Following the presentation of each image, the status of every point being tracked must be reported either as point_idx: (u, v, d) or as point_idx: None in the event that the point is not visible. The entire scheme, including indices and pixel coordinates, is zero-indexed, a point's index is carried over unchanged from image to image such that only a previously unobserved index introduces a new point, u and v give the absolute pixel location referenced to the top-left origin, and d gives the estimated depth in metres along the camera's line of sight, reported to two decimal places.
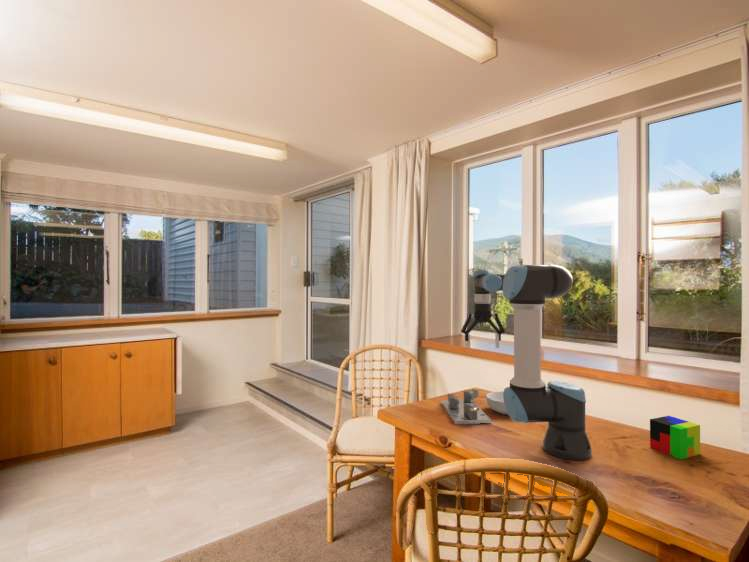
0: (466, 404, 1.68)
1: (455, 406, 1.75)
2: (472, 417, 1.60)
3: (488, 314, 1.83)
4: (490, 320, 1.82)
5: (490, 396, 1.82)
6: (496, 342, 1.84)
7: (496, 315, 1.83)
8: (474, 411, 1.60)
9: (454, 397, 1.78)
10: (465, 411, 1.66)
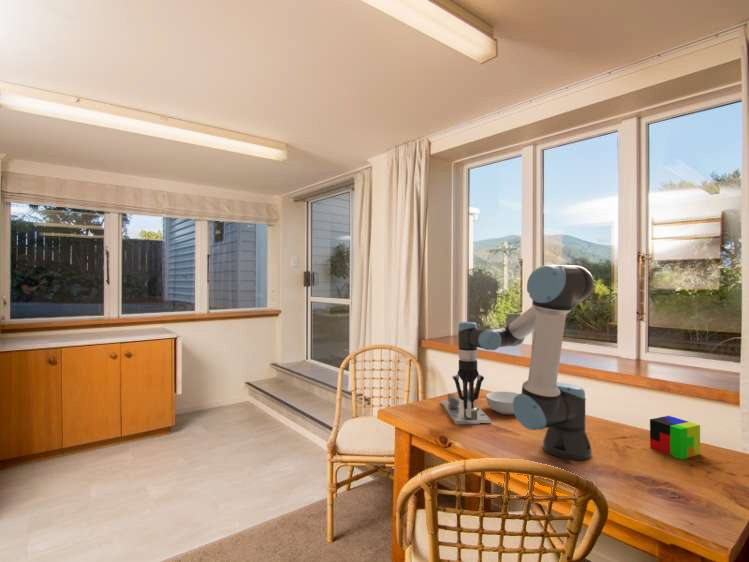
0: None
1: (455, 406, 1.75)
2: (472, 417, 1.60)
3: (475, 372, 1.60)
4: (473, 382, 1.60)
5: (490, 396, 1.82)
6: None
7: (481, 378, 1.60)
8: (474, 411, 1.60)
9: (454, 397, 1.78)
10: (465, 411, 1.66)
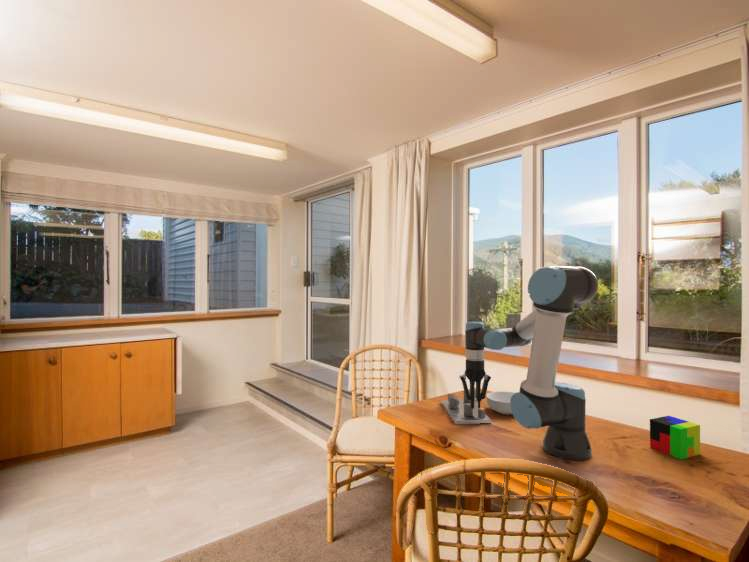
0: (467, 404, 1.67)
1: (455, 406, 1.75)
2: (482, 416, 1.61)
3: (482, 371, 1.61)
4: (480, 381, 1.60)
5: (490, 396, 1.82)
6: None
7: (488, 378, 1.61)
8: (483, 410, 1.62)
9: (454, 397, 1.78)
10: (468, 412, 1.66)
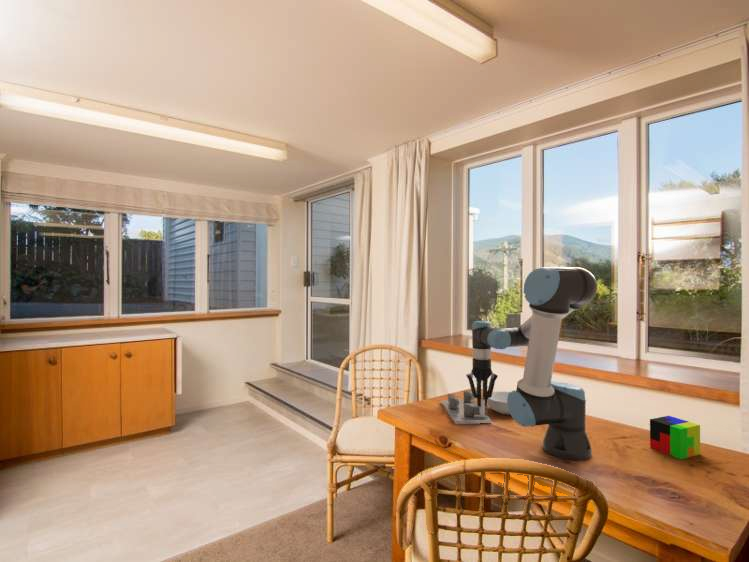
0: (468, 405, 1.67)
1: (455, 406, 1.75)
2: (487, 413, 1.65)
3: (489, 370, 1.63)
4: (486, 380, 1.62)
5: None
6: None
7: (495, 377, 1.63)
8: None
9: (454, 397, 1.78)
10: (471, 412, 1.66)
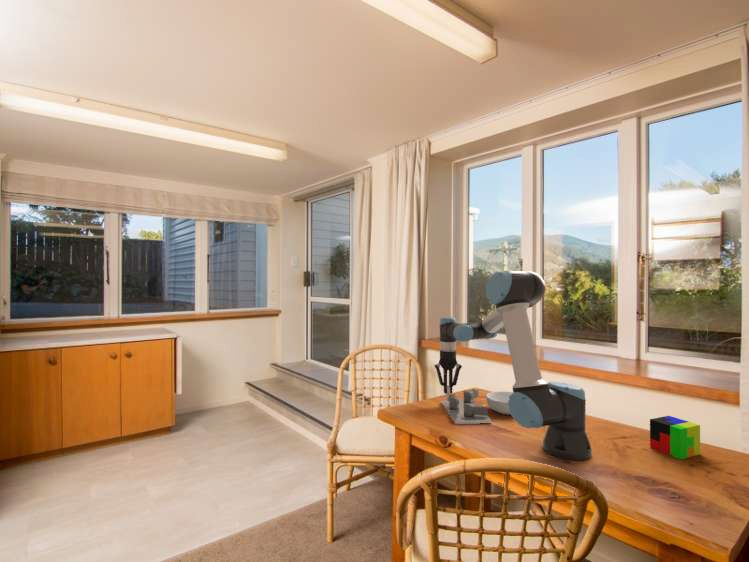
0: (468, 405, 1.67)
1: (455, 406, 1.75)
2: (487, 413, 1.65)
3: (454, 361, 1.82)
4: (452, 369, 1.82)
5: (490, 396, 1.82)
6: None
7: (459, 367, 1.82)
8: None
9: (454, 397, 1.78)
10: (471, 412, 1.66)
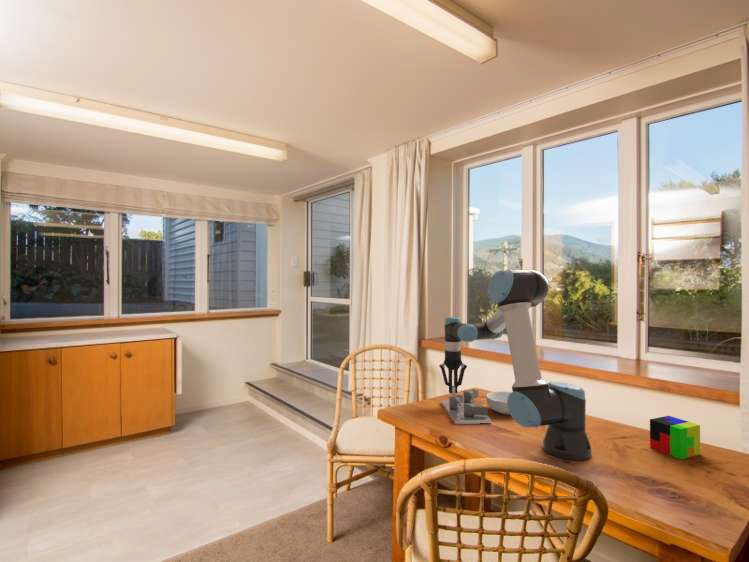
0: (468, 405, 1.67)
1: (452, 406, 1.75)
2: (487, 413, 1.65)
3: (459, 361, 1.82)
4: (457, 369, 1.82)
5: (490, 396, 1.82)
6: None
7: (464, 367, 1.82)
8: None
9: (455, 397, 1.78)
10: (471, 412, 1.66)
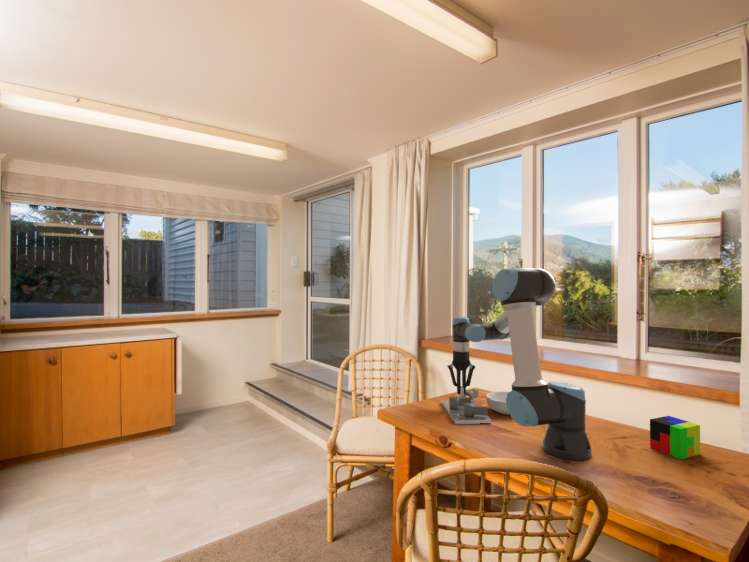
0: (468, 405, 1.67)
1: (450, 405, 1.77)
2: (487, 413, 1.65)
3: (467, 361, 1.81)
4: (465, 370, 1.80)
5: (490, 396, 1.82)
6: None
7: (473, 367, 1.81)
8: None
9: (455, 397, 1.77)
10: (471, 412, 1.66)
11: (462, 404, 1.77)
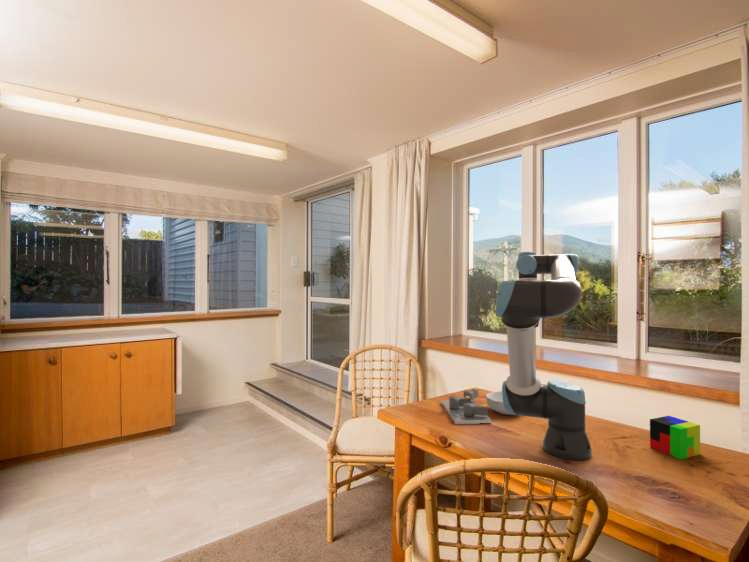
0: (468, 405, 1.67)
1: (449, 405, 1.77)
2: (487, 413, 1.65)
3: None
4: None
5: (490, 396, 1.82)
6: None
7: None
8: None
9: (455, 397, 1.77)
10: (471, 412, 1.66)
11: (462, 404, 1.77)
